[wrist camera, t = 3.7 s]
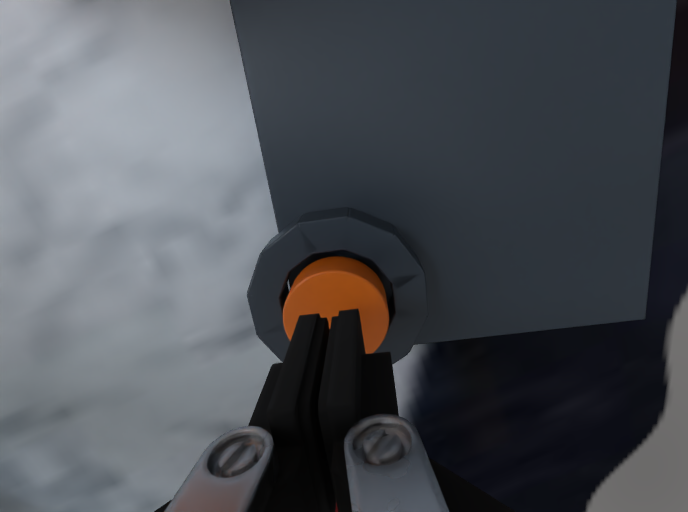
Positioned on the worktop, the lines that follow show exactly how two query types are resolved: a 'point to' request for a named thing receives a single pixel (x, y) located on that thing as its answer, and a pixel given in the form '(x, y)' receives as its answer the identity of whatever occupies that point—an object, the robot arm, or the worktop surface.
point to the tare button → (339, 297)
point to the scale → (461, 156)
